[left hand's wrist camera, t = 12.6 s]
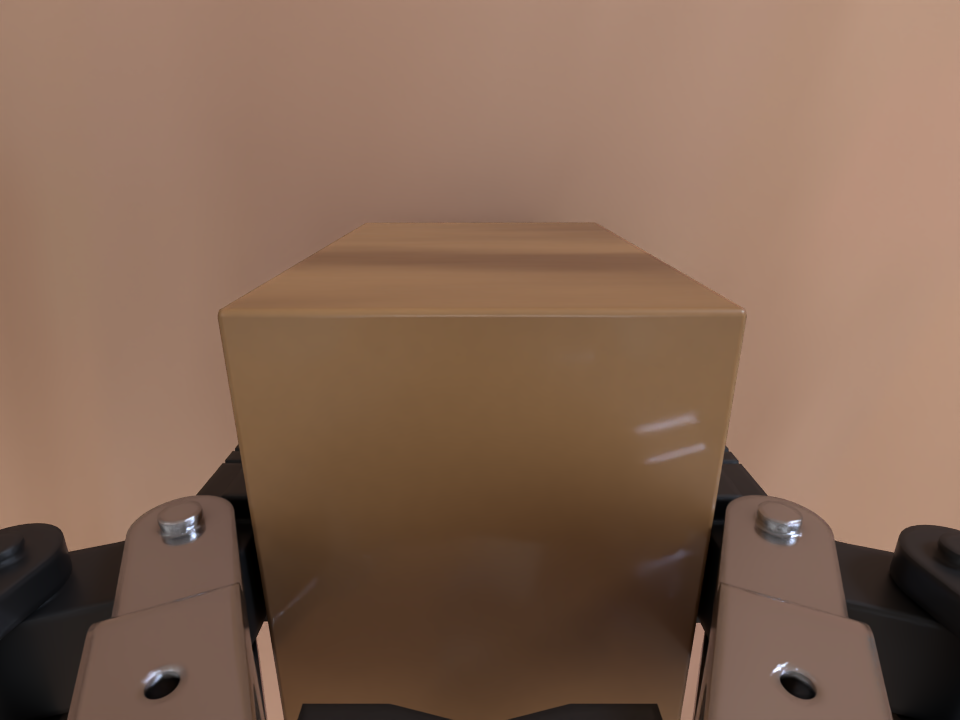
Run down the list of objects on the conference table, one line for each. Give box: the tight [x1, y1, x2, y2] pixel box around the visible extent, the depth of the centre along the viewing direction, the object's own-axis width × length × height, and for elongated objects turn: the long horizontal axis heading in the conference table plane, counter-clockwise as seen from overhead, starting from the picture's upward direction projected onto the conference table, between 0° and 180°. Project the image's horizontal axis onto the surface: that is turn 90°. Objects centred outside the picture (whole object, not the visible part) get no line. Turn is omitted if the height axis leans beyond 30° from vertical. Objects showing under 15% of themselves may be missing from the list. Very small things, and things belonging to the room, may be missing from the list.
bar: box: [218, 223, 747, 720], centre depth 14 cm, size 23×6×9 cm, turn 0°
